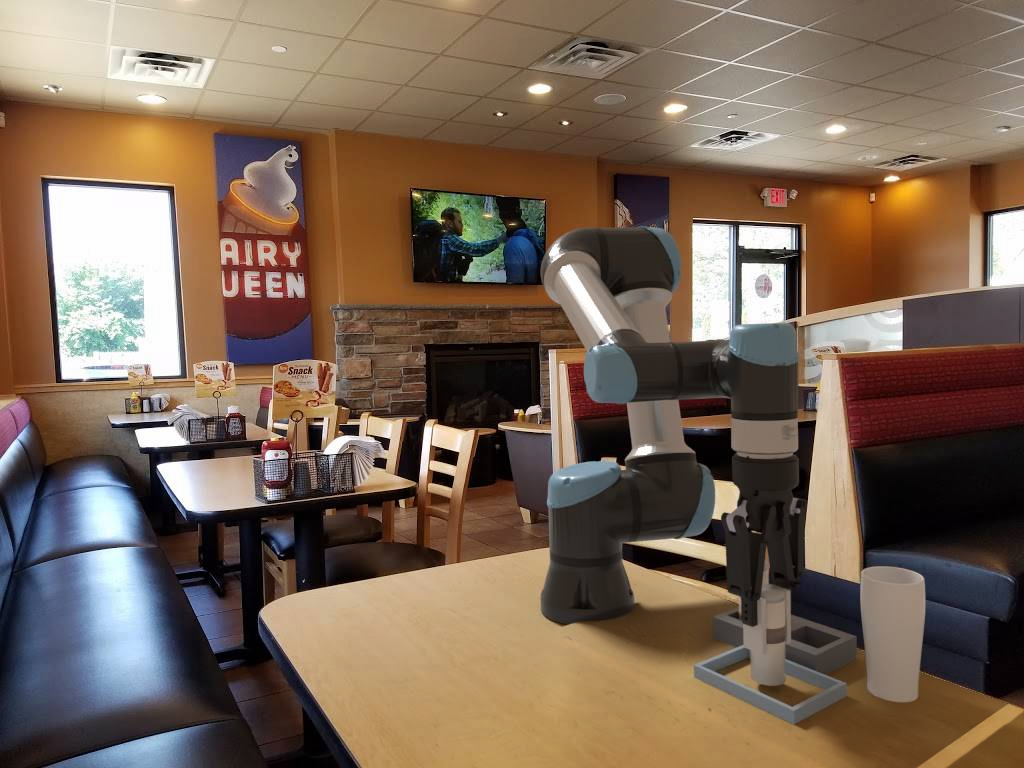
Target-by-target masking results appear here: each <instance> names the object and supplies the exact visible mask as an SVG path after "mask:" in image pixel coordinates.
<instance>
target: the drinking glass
mask: <svg viewBox="0 0 1024 768" xmlns="http://www.w3.org/2000/svg"><path fill="white" fill-rule="evenodd" d="M859 588H860V589H859V590H860V592H859V593H860V614H861V615H860V617H861V625H862V635H863V636H862V637H863V643H864V645H863V646H864V656H865V657H864V658H865V665H866V677H867V679H866V681H867V683H866V687H867V690H868V692H870V693H871V695H873V696H875V697H877V698H880V699H882V700H885V701H888V702H894V703H910V702H914V701H916V700H917V699H918V698H919V682H920V679H919V678H920V670H921V661H922V660H921V659H922V651H923V639H924V632H925V631H924V630H925V619H926V583H925V577H924V576H923V575H922V574H920V573H918V572H916V571H914V570H911V569H906V568H902V567H896V566H887V565H886V566H879V565H878V566H870V567H869V566H868V567H866V568H864V569H862V570H861V572H860V587H859Z"/></svg>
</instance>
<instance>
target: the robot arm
mask: <svg viewBox="0 0 1024 768" xmlns="http://www.w3.org/2000/svg"><path fill="white" fill-rule="evenodd" d="M678 246H679V245H678V244H677V242H676V240H675V238H674V237H673V236H672V234H671V233H670V232H669V231H667V230H666V229H664V228H661V227H649V226H646V225H645V226H643V225H641V226H633V227H631V226H630V227H591V226H590V227H582V228H581V227H580V228H575V229H573V230H570V231H568V232H566V233H564V234H563V235H561V236H559V237H558V238H557V239H556V240H554V241H553V243H552V244H551V245H550V246H549V248H548V249H547V251H546V252H545V253H544V256H543V259H542V261H541V265H540V278H541V284H542V286H543V288H544V290H545V292H546V294H547V296H548V297H549V298H550V299H551V300H552V301H553V302H555V304H556V303H557V304H558V305H560V306H561V309H562V310H563V311H564V313H565V315H566V317H567V318H568V320H569V323H570V324H571V326H572V327H573V329H574V331H575V333H576V335H577V337H578V338H579V340H580V341H581V343H582V345H583V347H584V348H585V350H586V353H585V357H584V364H583V378H584V383H585V386H586V388H585V389H586V393H587V394H588V396H589V398H590V399H591V400H592V401H594V402H595V403H601V404H602V403H603V404H618V405H624V404H626V407H627V416H628V424H629V431H630V439H631V451H630V452H629V454H627V456H626V457H625V459H624V465H625V469H622V468H621V467H620V465H619V463H618V462H616V461H610V460H599V461H595V460H593V461H585V462H579V463H576V464H571V465H568V466H565V467H562V468H559V469H558V470H556V471H555V472H553V473H552V474H551V475H550V477H549V479H548V482H547V484H548V485H547V500H546V506H547V509H548V511H547V513H548V536H549V537H548V542H549V565H548V569H547V572H546V577H545V579H544V585H543V589H542V590H541V593H540V597H539V598H540V612H541V613H542V615H543V616H545V617H546V618H548V620H551V621H553V622H556V623H560V624H563V625H573V624H575V623H579V622H600V621H601V622H603V621H608V620H615V619H618V618H620V617H623V616H626V615H627V614H629V613H630V612H632V611H633V610H634V608H635V593H634V592H633V590H632V586H631V582H630V580H629V576H628V573H627V571H626V568H625V566H624V562H623V544H624V543H638V542H646V541H647V542H648V541H650V542H651V541H660V540H661V541H662V540H671V539H673V540H680V539H683V538H687V537H688V538H689V537H694V536H698V535H701V534H702V533H704V532H705V531H706V530H707V528H708V527H709V525H710V524H711V521H712V519H713V516H714V513H715V508H716V487H715V486H716V484H715V481H714V476H713V475H712V474H711V470H710V469H709V468H708V466H707V465H704V464H702V463H698V461H697V456H696V451H695V450H693V449H692V448H691V447H689V446H688V445H687V443H686V442H685V437H684V432H683V423H682V416H681V409H680V403H679V400H700V399H716V398H719V399H720V398H721V399H722V398H723V399H730V404H731V405H730V406H731V407H730V408H731V412H730V413H731V416H730V417H731V418H730V419H731V420H730V431H731V433H730V434H731V435H730V437H731V438H730V440H731V441H730V443H731V444H730V445H731V446H730V447H731V449H732V450H733V451H734V452H736V453H734V454H733V456H732V457H731V462H732V463H731V477H732V478H731V479H732V481H731V482H732V483H733V485H735V486H736V487H737V489H738V491H739V495H738V499H737V501H736V508H735V509H734V510H733V511H732V512H723V513H721V516H720V520H721V524H722V527H723V531H724V540H725V563H726V565H725V566H726V587H727V593H729V594H731V595H734V596H738V597H739V596H740V597H741V611H742V612H741V620H742V623H743V643H744V647H745V648H747V649H750V650H752V651H755V652H757V653H760V654H762V655H763V654H765V653H767V647H766V599H764V598H761V590H762V581H763V572H764V564H765V559H766V554H767V556H768V565H769V570H770V577H771V582H772V584H774V585H777V586H780V587H782V588H784V590H785V624H786V640H785V643H786V644H789V643H791V615H792V613H791V612H792V609H793V608H792V589H793V590H796V591H799V589H800V588H801V582H800V581H799V582H798V581H797V580H802V579H803V578H804V574H805V573H804V572H805V568H804V567H805V566H804V565H805V559H804V558H805V517H806V513H807V509H808V501H807V500H806V499H802V498H797V497H794V495H793V491H792V490H793V489H796V488H797V487H798V486H799V483H800V469H799V468H800V462H799V461H800V459H799V457H798V456H797V455H796V454H794V453H795V452H797V451H798V450H799V427H798V426H799V424H798V423H799V422H798V415H799V414H798V413H799V359H800V355H799V354H800V353H799V352H798V341H797V338H798V337H797V330H796V328H795V327H794V325H792V324H791V323H788V322H773V323H744V324H742V323H741V324H736V325H734V326H733V327H732V329H731V330H730V334H729V340H727V339H721V338H718V339H706V340H696V341H695V340H694V341H692V340H691V341H677V342H676V341H674V342H673V341H671V337H670V332H669V324H668V318H667V312H666V311H667V309H666V307H667V306H668V305H669V304H670V302H671V300H673V292H676V290H677V289H678V288H679V285H680V283H681V278H682V273H681V270H682V268H683V267H682V258H681V253H680V250H679V247H678ZM766 552H767V553H766Z"/></svg>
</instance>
